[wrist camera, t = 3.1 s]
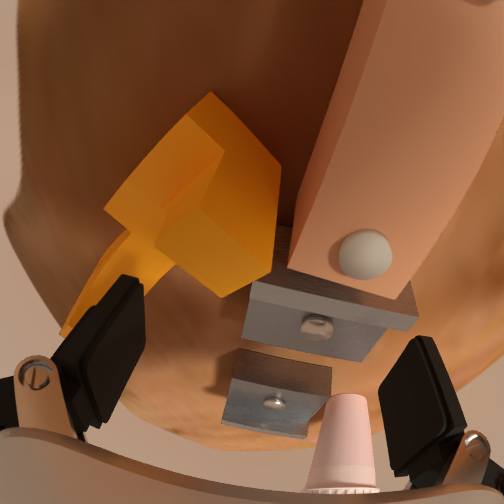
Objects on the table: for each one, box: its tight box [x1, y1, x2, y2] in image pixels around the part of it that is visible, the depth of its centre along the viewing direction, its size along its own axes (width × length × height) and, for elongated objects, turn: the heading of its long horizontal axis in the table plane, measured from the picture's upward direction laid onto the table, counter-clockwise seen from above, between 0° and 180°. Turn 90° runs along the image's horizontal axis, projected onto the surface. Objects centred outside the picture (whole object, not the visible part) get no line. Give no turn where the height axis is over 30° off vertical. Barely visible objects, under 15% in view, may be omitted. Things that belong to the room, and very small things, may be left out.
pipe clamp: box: [59, 91, 282, 338], centre depth 13 cm, size 12×4×6 cm, turn 132°
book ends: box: [221, 224, 419, 439], centre depth 18 cm, size 17×7×4 cm, turn 171°
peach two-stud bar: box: [287, 0, 504, 300], centre depth 8 cm, size 12×4×5 cm, turn 167°
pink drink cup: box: [300, 394, 380, 494], centre depth 19 cm, size 6×6×14 cm
